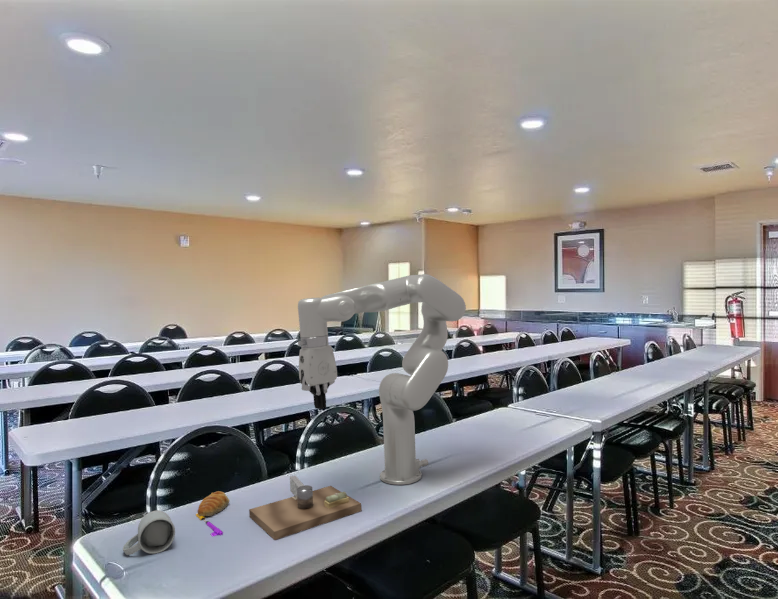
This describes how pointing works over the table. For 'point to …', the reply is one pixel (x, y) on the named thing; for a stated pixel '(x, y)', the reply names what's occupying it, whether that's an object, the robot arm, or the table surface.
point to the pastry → (213, 504)
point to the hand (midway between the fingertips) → (320, 407)
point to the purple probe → (214, 528)
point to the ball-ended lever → (301, 493)
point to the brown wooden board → (303, 512)
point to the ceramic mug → (152, 534)
